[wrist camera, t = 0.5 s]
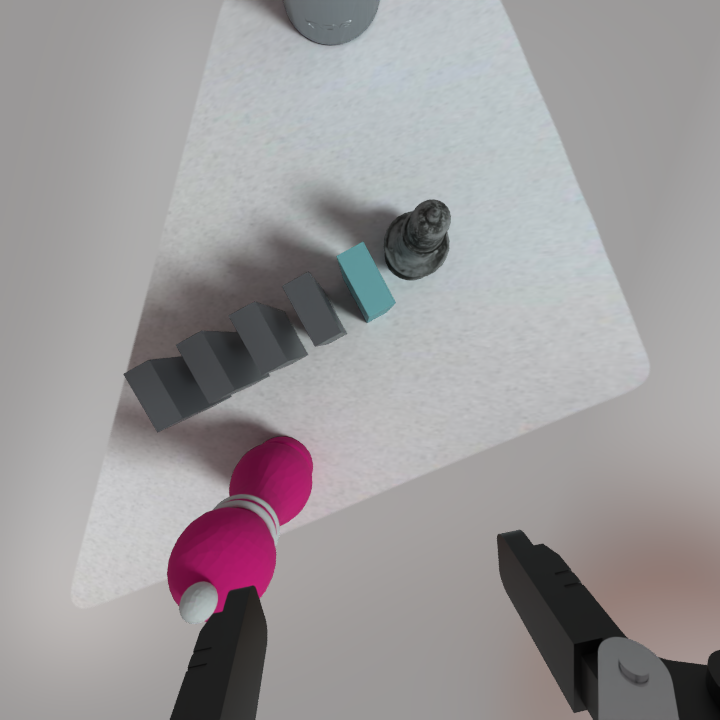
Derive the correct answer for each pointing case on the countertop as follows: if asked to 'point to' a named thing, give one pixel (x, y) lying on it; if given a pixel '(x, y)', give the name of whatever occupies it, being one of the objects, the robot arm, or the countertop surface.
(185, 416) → the domino
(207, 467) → the countertop surface
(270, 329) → the domino
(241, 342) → the domino
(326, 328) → the domino
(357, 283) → the domino
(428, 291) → the countertop surface
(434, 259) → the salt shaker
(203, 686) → the robot arm
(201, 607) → the pepper mill
